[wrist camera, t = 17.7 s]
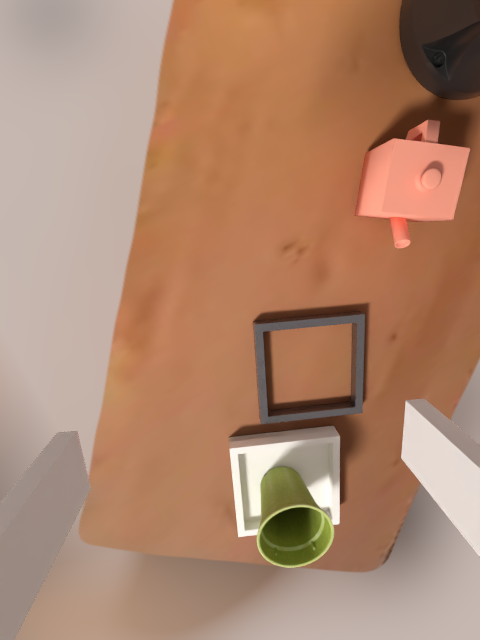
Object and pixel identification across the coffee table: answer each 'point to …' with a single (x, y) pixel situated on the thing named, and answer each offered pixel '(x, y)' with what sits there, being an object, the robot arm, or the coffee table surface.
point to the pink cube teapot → (412, 180)
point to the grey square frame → (318, 410)
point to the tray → (285, 451)
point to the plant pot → (291, 521)
